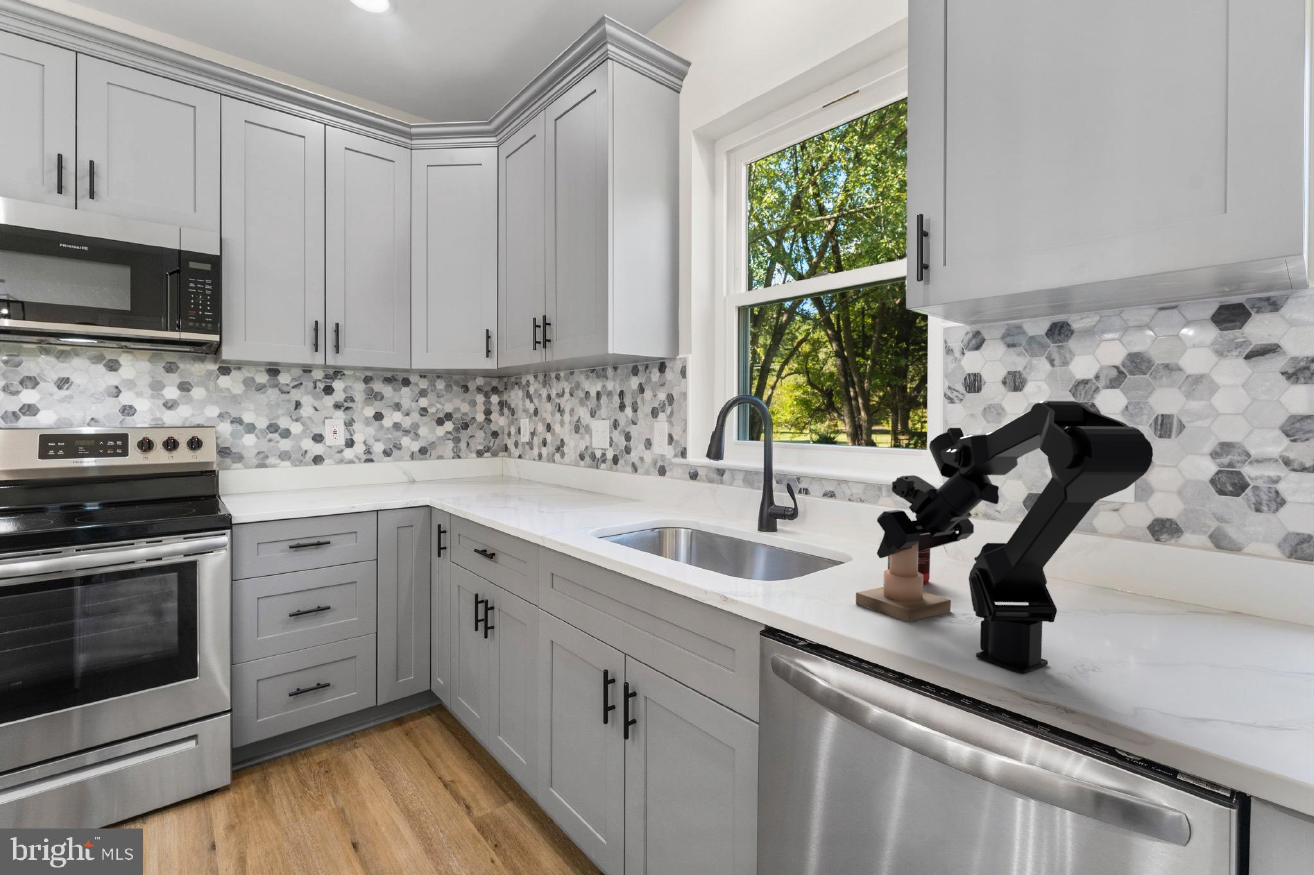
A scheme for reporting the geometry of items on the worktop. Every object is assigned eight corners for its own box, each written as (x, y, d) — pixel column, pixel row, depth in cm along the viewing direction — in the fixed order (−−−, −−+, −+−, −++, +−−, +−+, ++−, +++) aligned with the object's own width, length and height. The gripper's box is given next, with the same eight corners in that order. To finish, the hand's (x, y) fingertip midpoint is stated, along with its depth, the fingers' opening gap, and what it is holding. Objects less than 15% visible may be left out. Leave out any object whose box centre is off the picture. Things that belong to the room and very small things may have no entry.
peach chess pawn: (930, 598, 105) (932, 535, 104) (906, 604, 102) (907, 539, 101) (899, 588, 110) (900, 529, 110) (875, 594, 107) (876, 532, 107)
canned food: (891, 574, 129) (892, 522, 129) (931, 579, 125) (932, 526, 125) (884, 582, 123) (885, 528, 122) (926, 588, 118) (928, 532, 118)
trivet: (950, 611, 104) (950, 599, 104) (908, 621, 99) (908, 609, 99) (896, 594, 114) (896, 584, 114) (855, 603, 108) (855, 592, 108)
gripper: (959, 459, 107) (904, 512, 117) (887, 462, 97) (834, 520, 107) (1002, 509, 100) (940, 561, 110) (930, 518, 91) (869, 574, 101)
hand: (896, 553), depth 107 cm, fingers open, 9 cm apart
